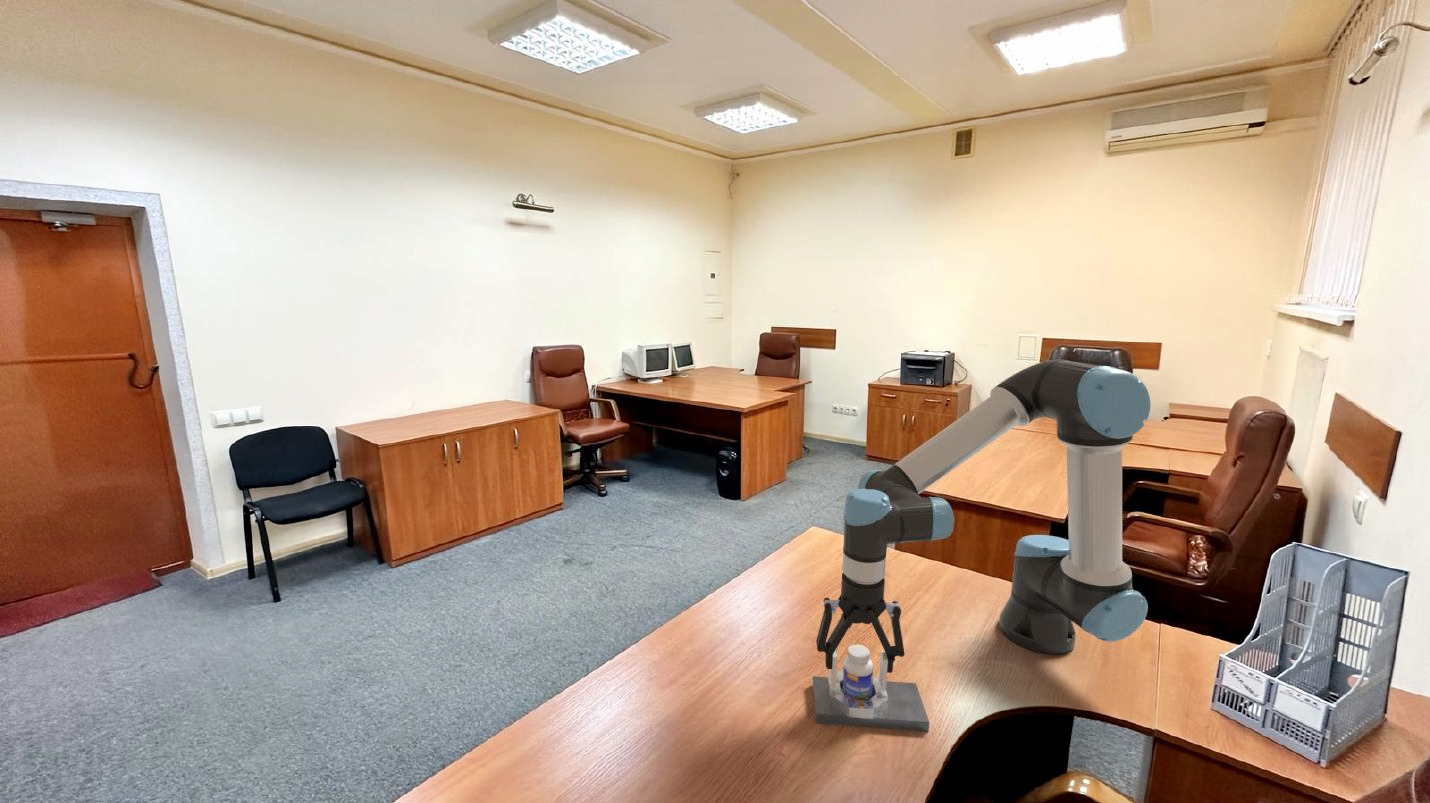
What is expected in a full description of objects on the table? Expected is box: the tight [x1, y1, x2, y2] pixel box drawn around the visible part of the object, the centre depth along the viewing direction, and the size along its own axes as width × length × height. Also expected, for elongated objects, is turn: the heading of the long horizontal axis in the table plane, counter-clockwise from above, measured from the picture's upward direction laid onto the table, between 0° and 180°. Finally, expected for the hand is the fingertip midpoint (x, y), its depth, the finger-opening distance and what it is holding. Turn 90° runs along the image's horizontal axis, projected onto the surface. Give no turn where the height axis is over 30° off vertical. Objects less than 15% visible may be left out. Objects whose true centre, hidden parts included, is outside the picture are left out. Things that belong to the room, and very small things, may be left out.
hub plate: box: [812, 668, 930, 733], centre depth 106 cm, size 20×10×4 cm, turn 84°
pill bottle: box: [842, 644, 874, 701], centre depth 105 cm, size 5×5×10 cm
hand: (857, 683), depth 105 cm, fingers open, 8 cm apart
